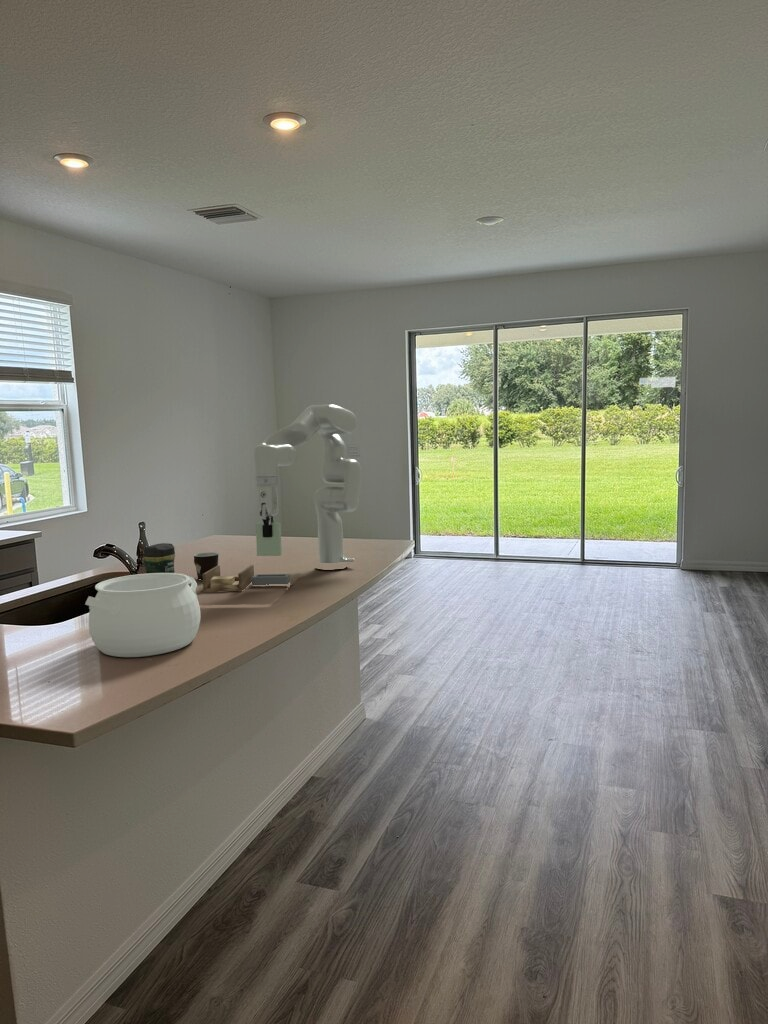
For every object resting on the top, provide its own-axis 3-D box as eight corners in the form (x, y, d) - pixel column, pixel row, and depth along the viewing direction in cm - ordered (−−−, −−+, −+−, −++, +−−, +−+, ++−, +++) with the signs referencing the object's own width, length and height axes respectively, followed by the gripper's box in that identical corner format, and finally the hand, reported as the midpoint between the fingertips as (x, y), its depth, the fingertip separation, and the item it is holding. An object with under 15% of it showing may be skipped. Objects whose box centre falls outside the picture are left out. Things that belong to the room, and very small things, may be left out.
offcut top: (234, 581, 235) (234, 576, 235) (232, 584, 230) (231, 578, 230) (214, 582, 235) (213, 576, 235) (210, 585, 230) (210, 579, 230)
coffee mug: (221, 582, 249) (220, 555, 248) (196, 585, 245) (195, 557, 244) (216, 577, 259) (215, 550, 258) (193, 579, 256) (191, 552, 255)
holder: (291, 586, 240) (290, 573, 239) (287, 590, 234) (286, 577, 233) (256, 586, 241) (256, 573, 240) (252, 590, 235) (251, 577, 234)
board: (281, 554, 236) (280, 522, 235) (280, 555, 234) (279, 523, 233) (258, 554, 237) (257, 522, 236) (257, 555, 235) (255, 523, 234)
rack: (254, 585, 243) (253, 565, 243) (242, 594, 228) (241, 573, 228) (218, 585, 244) (217, 565, 244) (203, 595, 230) (202, 574, 229)
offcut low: (241, 587, 235) (241, 582, 234) (237, 590, 230) (237, 584, 230) (215, 588, 235) (214, 582, 235) (210, 591, 231) (210, 585, 231)
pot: (168, 624, 195) (164, 566, 193) (228, 639, 178) (224, 577, 176) (64, 650, 172) (59, 586, 171) (121, 671, 156) (116, 600, 154)
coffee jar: (162, 606, 216) (158, 546, 214) (141, 604, 219) (138, 545, 217) (182, 598, 225) (178, 542, 223) (162, 597, 228) (159, 541, 226)
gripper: (272, 483, 225) (274, 539, 227) (283, 480, 241) (284, 533, 243) (249, 483, 226) (251, 539, 227) (261, 480, 241) (263, 533, 243)
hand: (268, 536), depth 235 cm, fingers closed on board, 2 cm apart
